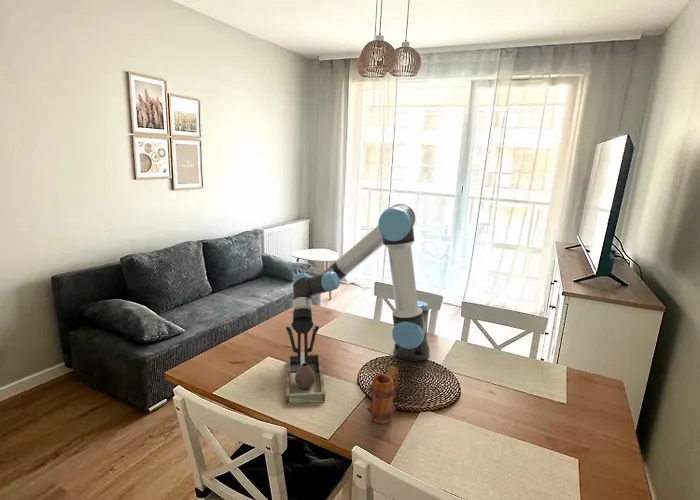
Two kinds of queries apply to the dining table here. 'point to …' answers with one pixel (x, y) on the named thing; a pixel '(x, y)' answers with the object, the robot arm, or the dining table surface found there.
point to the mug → (384, 395)
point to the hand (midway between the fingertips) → (302, 370)
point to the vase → (304, 377)
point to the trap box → (313, 363)
